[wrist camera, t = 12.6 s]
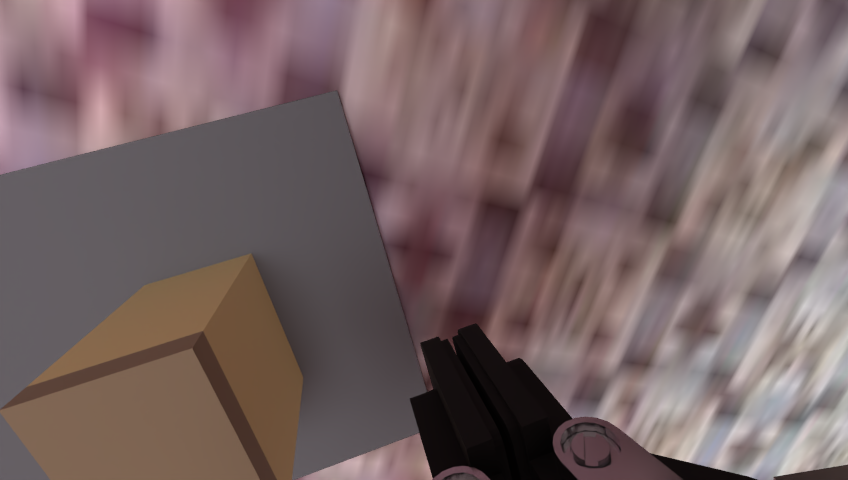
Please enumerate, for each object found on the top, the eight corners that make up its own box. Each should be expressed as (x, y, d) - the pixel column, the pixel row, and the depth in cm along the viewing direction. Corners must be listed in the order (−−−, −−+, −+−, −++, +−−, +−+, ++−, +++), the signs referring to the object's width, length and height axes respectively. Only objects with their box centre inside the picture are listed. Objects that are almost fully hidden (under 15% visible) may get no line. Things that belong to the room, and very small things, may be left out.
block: (251, 253, 16) (191, 348, 9) (303, 377, 17) (286, 530, 11) (144, 285, 15) (-2, 410, 8) (210, 409, 17) (133, 591, 10)
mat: (336, 91, 15) (337, 90, 15) (434, 417, 20) (437, 425, 20) (-286, 247, 13) (-315, 253, 12) (7, 576, 18) (-3, 591, 17)
